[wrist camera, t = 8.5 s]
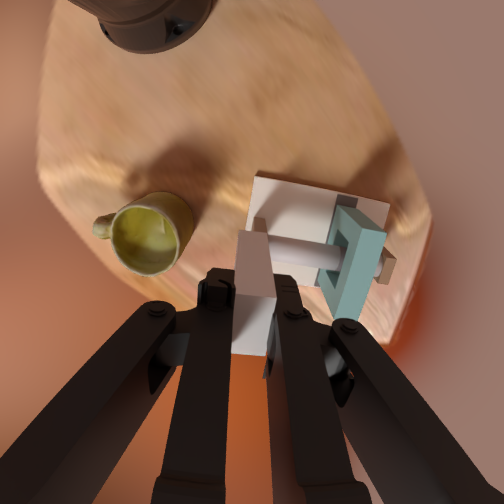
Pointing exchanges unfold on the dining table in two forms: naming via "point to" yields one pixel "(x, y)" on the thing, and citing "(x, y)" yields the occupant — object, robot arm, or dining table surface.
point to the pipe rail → (308, 228)
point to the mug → (148, 232)
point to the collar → (352, 262)
